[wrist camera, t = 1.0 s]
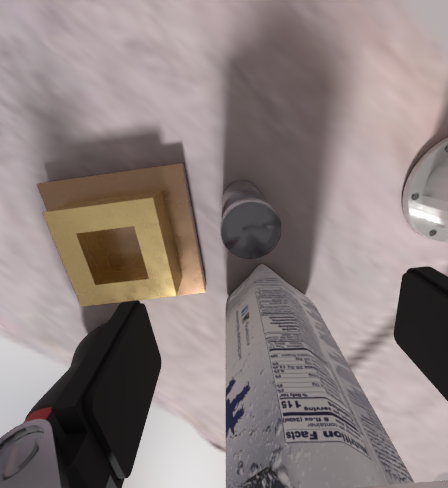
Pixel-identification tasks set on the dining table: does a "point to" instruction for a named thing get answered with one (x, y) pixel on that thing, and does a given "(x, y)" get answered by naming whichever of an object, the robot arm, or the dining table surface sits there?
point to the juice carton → (296, 398)
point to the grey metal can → (248, 221)
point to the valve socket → (126, 234)
